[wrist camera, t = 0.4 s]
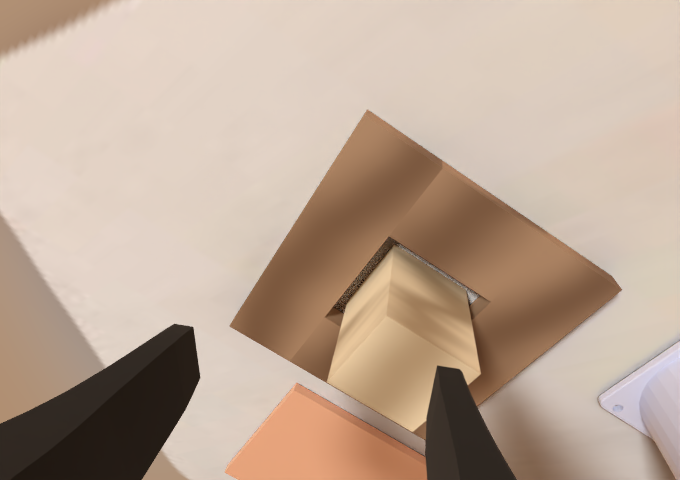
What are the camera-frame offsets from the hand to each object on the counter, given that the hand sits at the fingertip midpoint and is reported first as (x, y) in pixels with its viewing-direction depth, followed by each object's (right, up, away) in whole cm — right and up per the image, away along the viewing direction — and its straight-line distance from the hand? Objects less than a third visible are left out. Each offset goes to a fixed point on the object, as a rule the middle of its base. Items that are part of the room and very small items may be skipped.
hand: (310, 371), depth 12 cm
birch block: (+4, +1, +10) cm, 11 cm away
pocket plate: (+4, +1, +10) cm, 11 cm away
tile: (0, -12, +18) cm, 21 cm away
